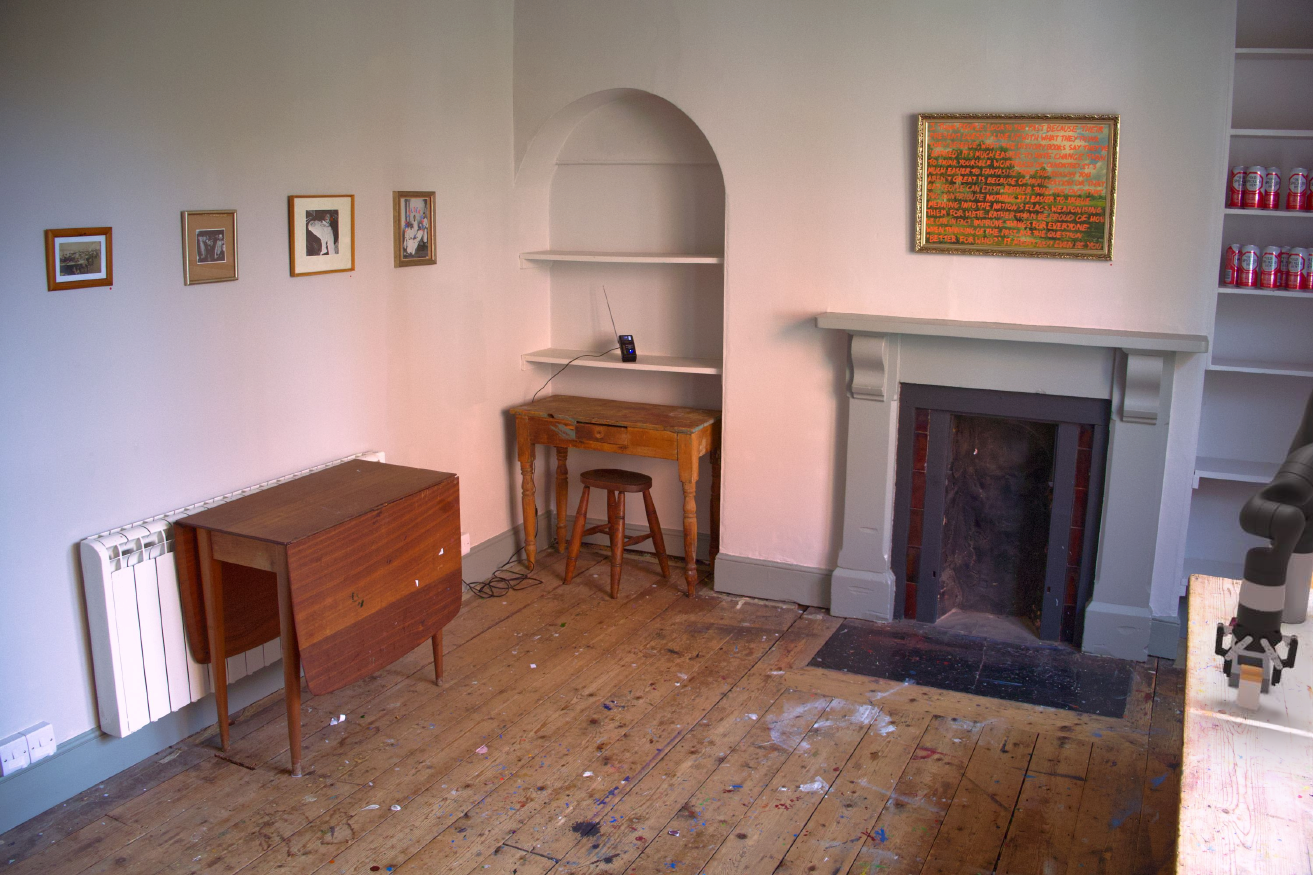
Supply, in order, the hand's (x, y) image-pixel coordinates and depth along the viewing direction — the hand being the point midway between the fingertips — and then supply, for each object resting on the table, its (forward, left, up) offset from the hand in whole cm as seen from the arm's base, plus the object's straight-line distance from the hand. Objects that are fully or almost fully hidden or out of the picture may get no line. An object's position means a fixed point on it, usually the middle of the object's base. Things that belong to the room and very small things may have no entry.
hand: (1250, 679), depth 204 cm
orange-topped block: (0, 0, -6) cm, 6 cm away
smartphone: (-37, -9, -7) cm, 39 cm away
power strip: (-17, -4, -6) cm, 18 cm away
